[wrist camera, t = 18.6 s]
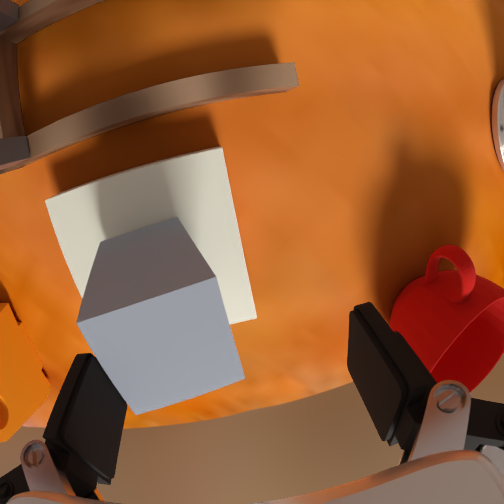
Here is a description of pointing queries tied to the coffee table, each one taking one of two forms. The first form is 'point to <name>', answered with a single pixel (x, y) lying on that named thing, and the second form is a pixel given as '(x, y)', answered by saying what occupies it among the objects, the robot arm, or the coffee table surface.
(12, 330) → the bracket
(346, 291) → the coffee table surface
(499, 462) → the robot arm
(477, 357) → the ceramic cup
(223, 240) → the plinth
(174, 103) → the rack
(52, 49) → the coffee table surface
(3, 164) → the grey arch
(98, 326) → the block
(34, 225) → the coffee table surface
